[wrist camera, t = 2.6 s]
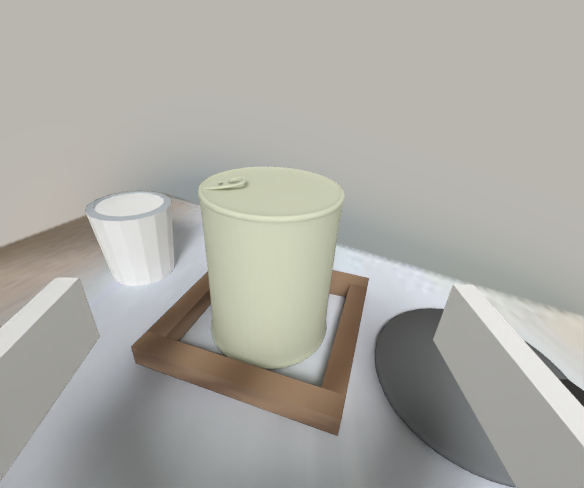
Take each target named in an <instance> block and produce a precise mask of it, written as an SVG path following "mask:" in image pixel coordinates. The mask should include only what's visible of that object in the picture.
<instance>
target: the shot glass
mask: <svg viewBox="0 0 584 488" xmlns="http://www.w3.org/2000/svg"><path fill="white" fill-rule="evenodd" d="M85 213H86V215H87V217H88V220H89V222H90V224H91V227H92V229H93V231H94V234H95V236H96V238H97V241H98V243H99V245H100V248H101V250H102V252H103V255H104V257H105V259H106V262H107V264H108V266H109V269H110V271H111V273H112V276H113V278H114V279H115V280H116V281H117V282H118V283H121V284H123V285H127V286H141V285H147V284H152V283H154V282H157V281H159V280H162V279H164V278H165V277H166V276H168V275H169V274H170V273H171V272H172V270H173V269H174V267H175V265H174V245H173V225H172V204H171V198H170V197H168V196H167V195H165V194H162V193H158V192H153V191H129V192H121V193H116V194H111V195H107V196H105V197H102V198H99V199H96V200H95V201H93V202H92V203H90V204H89V205H87V208H86V210H85Z"/></svg>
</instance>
